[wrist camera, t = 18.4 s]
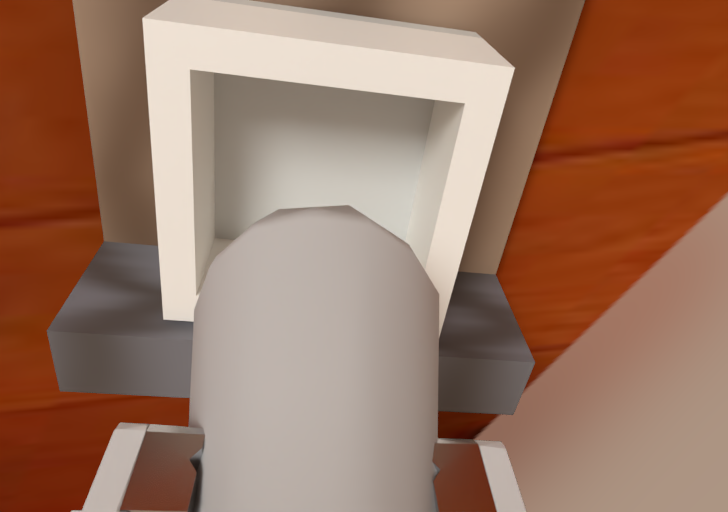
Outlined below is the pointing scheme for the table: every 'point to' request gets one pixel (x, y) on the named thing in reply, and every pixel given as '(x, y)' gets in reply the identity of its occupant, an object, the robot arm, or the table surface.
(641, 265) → the table surface
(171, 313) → the frame
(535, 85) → the board
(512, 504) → the robot arm
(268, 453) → the salt shaker
